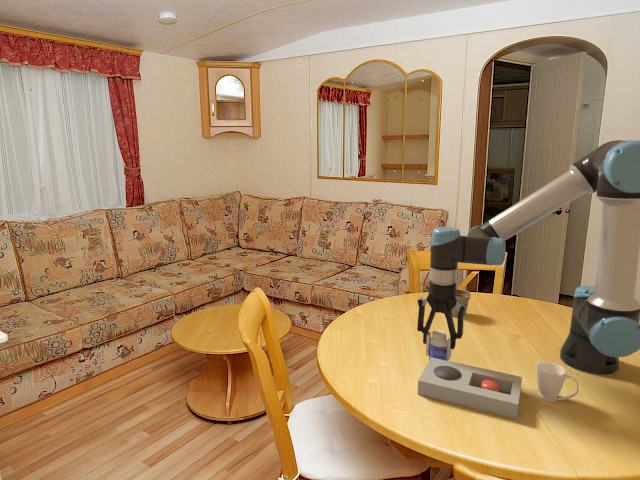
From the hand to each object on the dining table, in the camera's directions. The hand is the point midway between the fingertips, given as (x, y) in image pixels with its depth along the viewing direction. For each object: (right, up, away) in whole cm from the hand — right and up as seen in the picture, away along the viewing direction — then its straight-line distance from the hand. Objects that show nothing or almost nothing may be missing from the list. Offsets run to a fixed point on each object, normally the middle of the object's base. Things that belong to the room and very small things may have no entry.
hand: (438, 355), depth 133 cm
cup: (+25, -7, -17) cm, 31 cm away
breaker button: (+9, -4, -17) cm, 20 cm away
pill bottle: (0, -2, +1) cm, 3 cm away
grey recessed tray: (+4, -6, -15) cm, 16 cm away
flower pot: (+17, +6, +37) cm, 41 cm away
